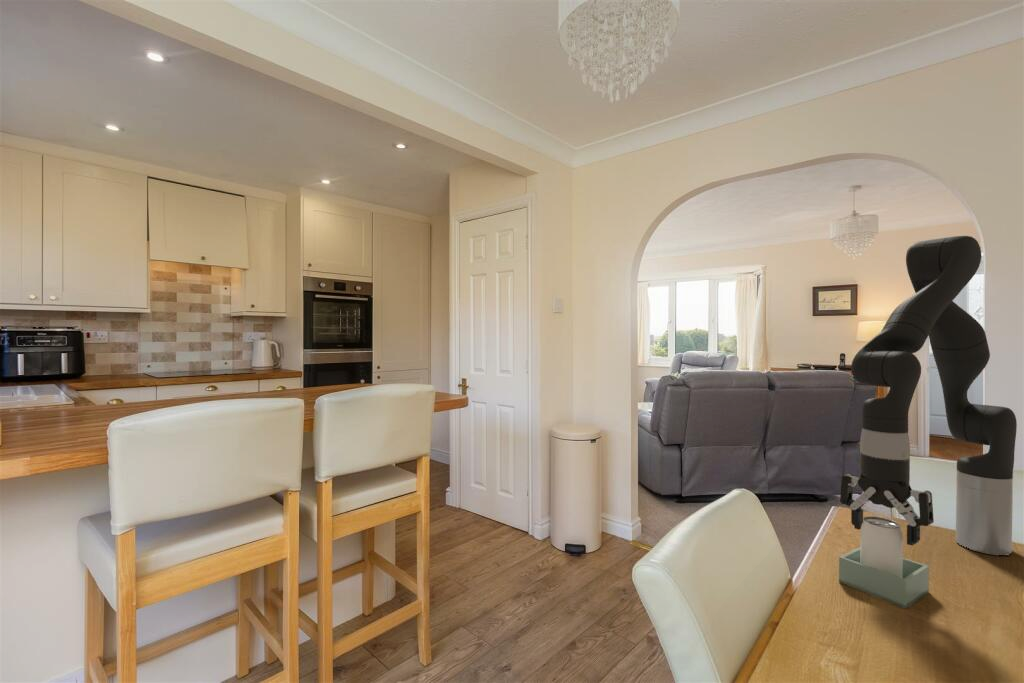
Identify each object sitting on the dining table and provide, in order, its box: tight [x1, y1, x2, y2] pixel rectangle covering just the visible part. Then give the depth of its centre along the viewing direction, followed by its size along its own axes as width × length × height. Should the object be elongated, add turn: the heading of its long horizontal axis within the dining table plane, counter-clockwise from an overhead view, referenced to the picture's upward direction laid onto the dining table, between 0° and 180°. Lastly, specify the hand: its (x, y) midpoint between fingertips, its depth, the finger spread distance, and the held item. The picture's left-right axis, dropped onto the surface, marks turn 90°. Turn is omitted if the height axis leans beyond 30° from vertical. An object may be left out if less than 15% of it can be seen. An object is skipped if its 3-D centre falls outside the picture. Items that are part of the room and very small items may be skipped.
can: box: [859, 516, 904, 578], centre depth 91 cm, size 6×6×12 cm
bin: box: [838, 546, 930, 609], centre depth 91 cm, size 11×11×5 cm
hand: (883, 535), depth 91 cm, fingers open, 8 cm apart
